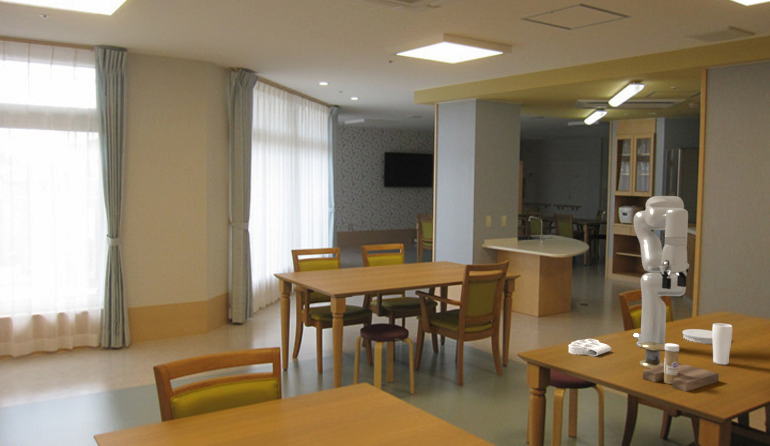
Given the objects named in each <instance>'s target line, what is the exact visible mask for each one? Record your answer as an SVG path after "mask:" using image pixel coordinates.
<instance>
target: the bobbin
mask: <svg viewBox="0 0 770 446" xmlns="http://www.w3.org/2000/svg"><path fill="white" fill-rule="evenodd" d="M639 348H642V349H644V350H645V359H642V360H639V366H641V367H643V368H647V369H650V368H654V367H658V366H662V365H664V362H663V361H661V351H665V345H664V344H661V343H656V342H642V343H640V347H639Z"/></svg>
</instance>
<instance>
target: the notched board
mask: <svg viewBox="0 0 770 446" xmlns="http://www.w3.org/2000/svg"><path fill="white" fill-rule="evenodd" d="M719 375H720V373H718V372H715V371H711V370H707V369H703V368H701V367H700V368H699V367H696V366H692V365H688V364H684V363H680V362H678V376H677V378H674V379H673V384H672V388H673V389H676V390H679V391H683V392H689V391H692V390H695V389H699V388H702V387H705V386H709V385H712V384H715V383H719V381H720V380H719V379H720V378H719V377H720V376H719ZM642 379H643V380H645V381H648V382H652V383H658V382H661V381H663V380H664V365H662V366H658V367H654V368H647V369H643V370H642Z"/></svg>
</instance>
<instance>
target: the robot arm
mask: <svg viewBox="0 0 770 446" xmlns="http://www.w3.org/2000/svg"><path fill="white" fill-rule="evenodd" d="M688 221H689V213H688V210H687V209H685V204H684V201H683V199H682V198H681V197H680V196H677V195H676V196H675V195H654V196H651V197H649V198H648V199H647V200H646V202H645V210H641V211H640V210H639V211H637V212H636V213H635V214H634V216H633V229H634V233H635V235H636V236H637V239H638V242H639V245H640V257H641V263H642V264H641V265H642V267H643V269H644V271H646V273H644V274H643V275H642V276H640V277H641V278H640V281H639V282H640V291H641V318H640V319H641V322H640V323H641V324H640V333H637V332H634V334H633V339H638V341H636V346H637V347H639V348H641V347H640V343H642V342H656V343H661V344H664V345H665V344H667V343H666V324H667V323H666V321H667V305H666V304H665V302H664V301H663V300H662V298H661V297H665V296H667V297H681V296H684V294H685V293H686V291H687V290H686V289H687V276H688V273H689V269H690V268H689V267H690V263H688V249H687V247H688V230H689V229H688V225H689V222H688ZM652 230H653V231H655V230H656V231H664V246H663V245H662V240H660V238H659V237H658V236H657V235H656V234H655V233H654V232H653V231H652ZM662 246H663V248H662Z"/></svg>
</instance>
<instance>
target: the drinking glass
mask: <svg viewBox="0 0 770 446" xmlns="http://www.w3.org/2000/svg"><path fill="white" fill-rule="evenodd" d="M711 331H712V342H713V344H712V362H713V363H714V364H717V365H720V366H721V365H724V366H726V365H728V364H729V363H730V353H731V347H732V346H731V345H732V339H733V325H732V324H728V323H722V322H715V323H712V329H711Z"/></svg>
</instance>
